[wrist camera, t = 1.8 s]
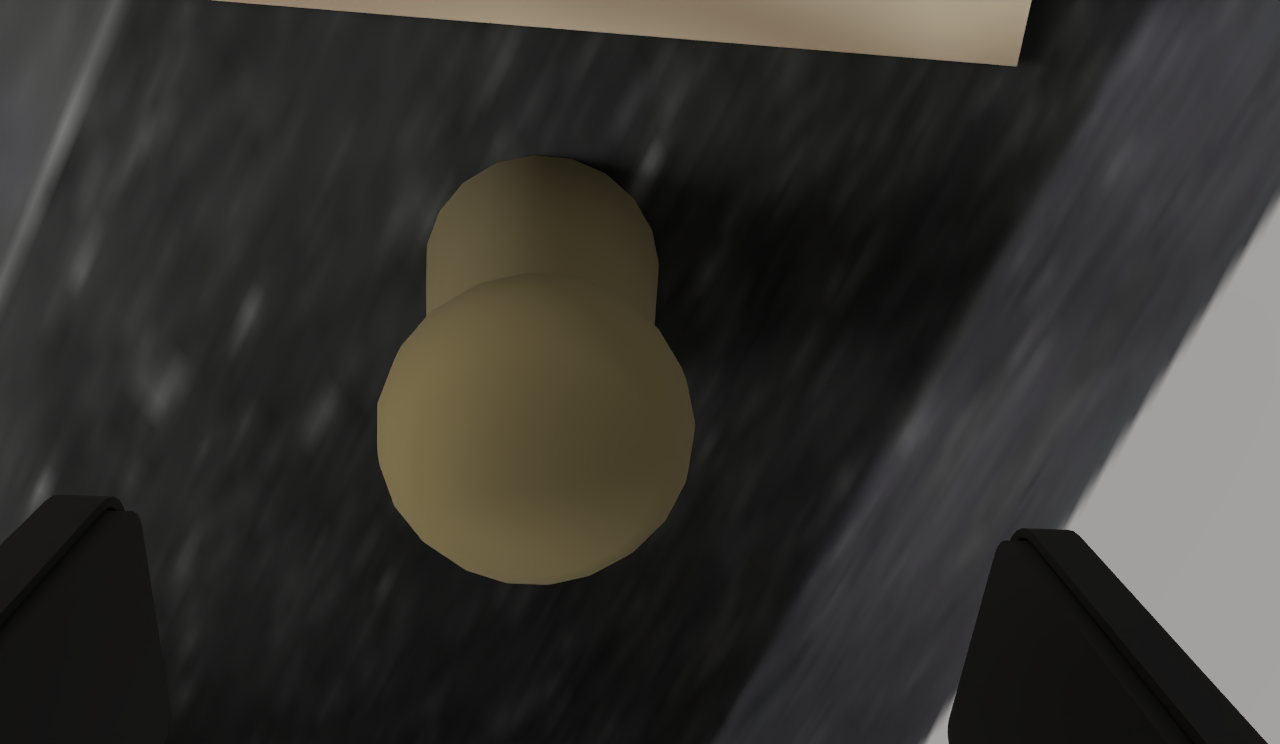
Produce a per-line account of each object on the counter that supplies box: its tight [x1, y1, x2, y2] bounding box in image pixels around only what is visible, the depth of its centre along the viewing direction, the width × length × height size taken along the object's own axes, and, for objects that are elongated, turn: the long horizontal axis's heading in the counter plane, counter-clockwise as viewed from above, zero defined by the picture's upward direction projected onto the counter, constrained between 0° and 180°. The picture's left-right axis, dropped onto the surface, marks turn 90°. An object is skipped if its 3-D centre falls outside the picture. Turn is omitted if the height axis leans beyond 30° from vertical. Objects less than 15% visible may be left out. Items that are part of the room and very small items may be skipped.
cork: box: [377, 155, 695, 585], centre depth 19 cm, size 6×6×11 cm
